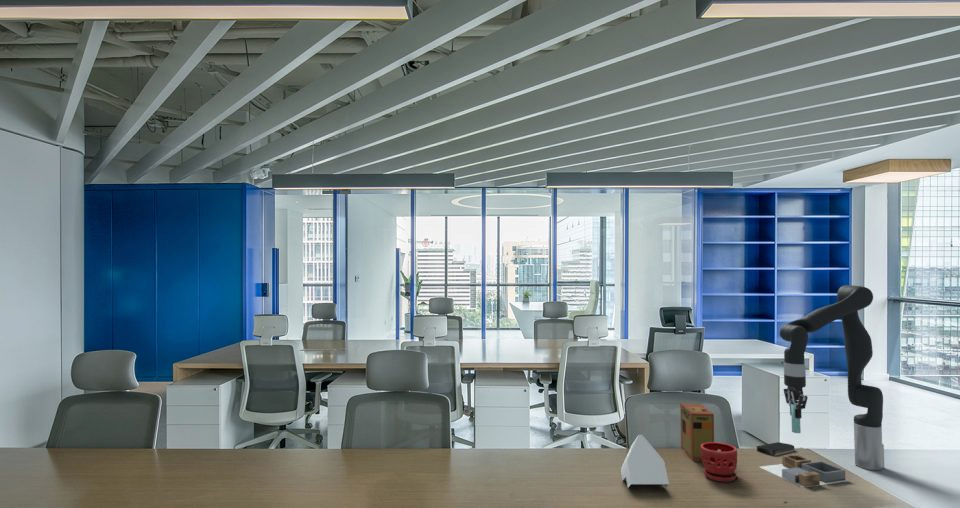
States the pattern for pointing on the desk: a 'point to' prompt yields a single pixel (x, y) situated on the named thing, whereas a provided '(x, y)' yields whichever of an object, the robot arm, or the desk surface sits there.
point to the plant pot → (719, 461)
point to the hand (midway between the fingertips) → (795, 416)
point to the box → (695, 429)
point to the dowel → (795, 421)
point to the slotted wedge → (644, 465)
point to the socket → (794, 461)
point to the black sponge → (775, 448)
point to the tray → (825, 471)
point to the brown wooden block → (809, 479)
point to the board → (778, 468)
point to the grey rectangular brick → (792, 474)
